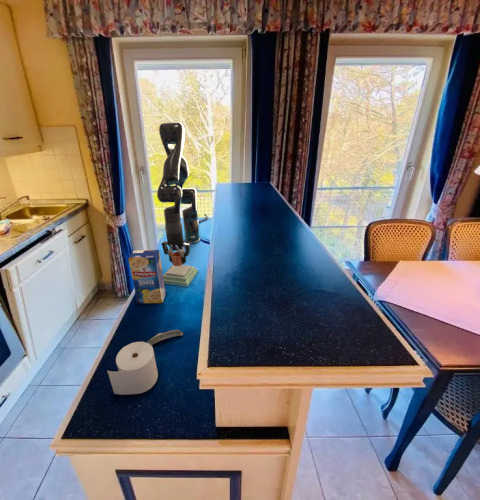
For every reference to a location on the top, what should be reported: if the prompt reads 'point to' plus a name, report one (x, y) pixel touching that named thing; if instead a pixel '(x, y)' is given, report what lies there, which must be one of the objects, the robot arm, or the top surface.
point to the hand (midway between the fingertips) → (177, 262)
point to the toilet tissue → (134, 369)
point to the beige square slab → (179, 271)
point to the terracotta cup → (176, 259)
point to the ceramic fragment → (164, 336)
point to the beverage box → (147, 276)
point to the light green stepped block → (180, 278)
